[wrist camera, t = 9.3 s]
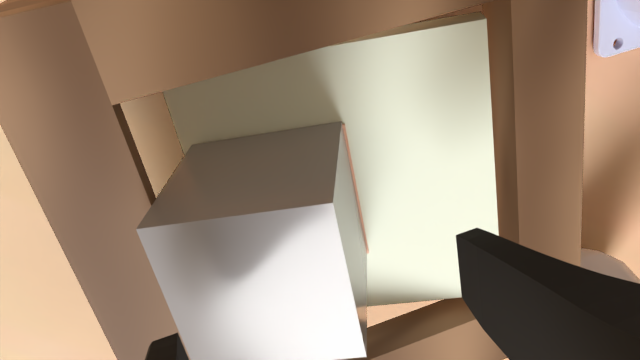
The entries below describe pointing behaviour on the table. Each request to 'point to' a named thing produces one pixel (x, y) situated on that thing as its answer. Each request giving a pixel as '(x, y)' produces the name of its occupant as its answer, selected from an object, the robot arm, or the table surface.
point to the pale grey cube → (263, 248)
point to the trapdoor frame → (248, 51)
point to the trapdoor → (381, 138)
